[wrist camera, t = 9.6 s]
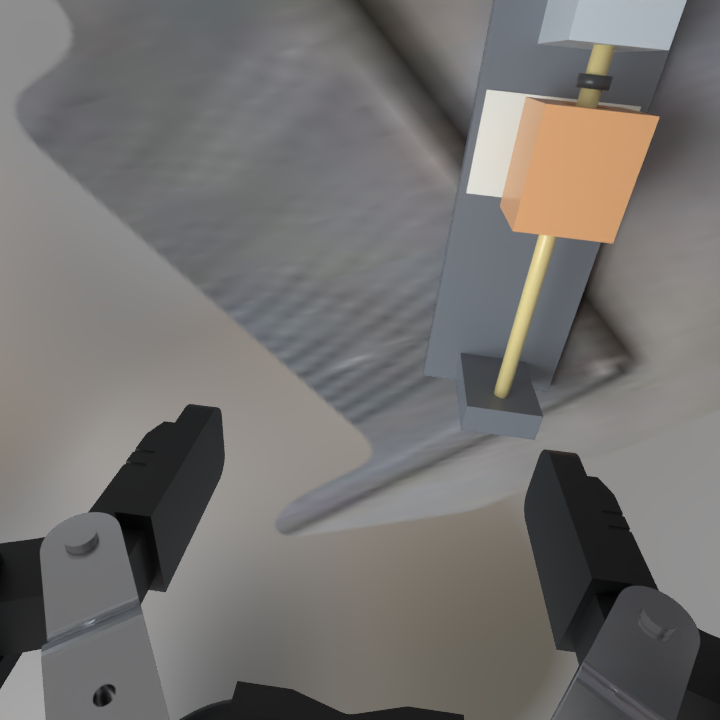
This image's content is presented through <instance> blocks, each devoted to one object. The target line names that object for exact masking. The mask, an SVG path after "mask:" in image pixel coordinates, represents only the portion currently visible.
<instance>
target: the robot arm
mask: <svg viewBox="0 0 720 720" xmlns="http://www.w3.org/2000/svg"><path fill="white" fill-rule="evenodd" d="M224 459H225V452H224V440H223V427H222V414H221V410H220V409H219V408H217V407H209V406H201V405H193V404H189V405H187V406H186V407H185V409H184V411H183V412H182V413H181V415H180V416H179V418H178V419H177V421H176V422H175V423H173V422H163V423H162V424H160V425H159V426H157V427H156V428H154V429H153V430H152V431H150V432H148V433H147V434H146V435H145V437H144V438H143V439H142V441H141V442H140V443H139V445H138V446H137V447H136V450H135V452H133V453H132V454H131V455H130V457H129V458H128V459H127V461H126V464H124V465H123V466H122V468H121V469H120V470H119V472H118V473H117V474H116V476H115V477H114V478H113V480H112V481H111V482H110V484H109V485H108V486H107V488H106V489H105V491H104V492H103V493H102V495H101V496H100V497H99V499H98V500H97V501H96V503H95V504H94V505H93V507H92V508H91V509H90V511H89V512H88V513H83V514H80V515H76V516H74V517H71V518H69V519H67V520H65V521H63V522H62V523H60V524H58V525H57V526H56V527H55V528H53V529H52V530H51V531H50V533H48V535H47V536H46V537H43V538H38V539H31V540H24V541H16V542H8V543H1V544H0V688H1V687H2V685H3V684H4V682H5V680H6V679H7V677H8V676H9V674H10V672H11V670H12V669H13V667H14V666H15V664H16V662H17V661H18V659H19V658H20V656H21V654H22V653H23V652H28V651H33V650H38V649H41V661H42V674H43V687H44V701H45V714H46V720H170V718H169V714H168V710H167V707H166V703H165V699H164V695H163V691H162V687H161V683H160V679H159V675H158V671H157V667H156V663H155V659H154V655H153V652H152V647H151V643H150V640H149V636H148V632H147V628H146V624H145V620H144V616H143V612H142V609H141V603H142V601H143V599H144V597H145V595H146V593H147V591H148V590H154V591H161V592H166V590H167V588H168V586H169V584H170V582H171V579H172V577H173V575H174V573H175V571H176V569H177V567H178V565H179V563H180V561H181V558H182V556H183V555H184V552H185V550H186V548H187V546H188V544H189V542H190V540H191V538H192V536H193V534H194V532H195V530H196V527H197V525H198V523H199V521H200V519H201V517H202V515H203V513H204V511H205V508H206V507H207V505H208V502H209V500H210V498H211V496H212V494H213V492H214V490H215V488H216V486H217V484H218V482H219V480H220V477H221V474H222V471H223V465H224ZM524 513H525V521H526V525H527V529H528V534H529V537H530V542H531V545H532V550H533V554H534V558H535V563H536V567H537V571H538V575H539V579H540V583H541V587H542V591H543V595H544V600H545V604H546V608H547V612H548V616H549V620H550V624H551V629H552V633H553V637H554V641H555V645H556V649H557V650H564V651H571V652H576V656H577V659H578V663H579V667H578V669H577V671H576V672H575V674H574V676H573V678H572V680H571V682H570V684H569V686H568V687H567V689H566V691H565V693H564V695H563V697H562V699H561V701H560V703H559V704H558V706H557V708H556V710H555V712H554V714H553V716H552V718H551V720H720V638H718V637H715V636H713V635H710V634H708V633H706V632H704V631H702V630H700V629H698V628H697V627H696V624H695V622H694V621H693V619H692V618H691V616H690V615H689V614H688V613H687V611H686V610H685V609H684V608H683V607H682V606H681V605H680V604H678V603H677V602H676V601H675V600H673V599H672V598H670V597H669V596H667V595H666V594H664V593H662V592H660V591H659V590H658V588H657V586H656V584H655V582H654V579H653V578H652V575H651V573H650V571H649V569H648V567H647V565H646V562H645V560H644V558H643V556H642V554H641V552H640V549H639V547H638V545H637V543H636V541H635V539H634V536H633V535H632V533H631V532H630V531H629V529H630V528H629V526H628V524H627V522H626V519H625V517H623V516H622V511H621V509H620V506H619V505H618V502H617V500H616V498H615V496H614V494H613V493H612V492H611V491H610V490H609V489H608V488H607V487H606V486H605V485H604V484H603V483H602V482H601V480H600V479H599V478H598V477H590V476H587V475H586V472H585V470H584V467H583V465H582V463H581V460H580V458H579V456H578V455H577V454H576V453H569V452H561V451H553V450H543V451H542V452H541V454H540V456H539V459H538V462H537V464H536V467H535V470H534V473H533V476H532V479H531V482H530V485H529V487H528V490H527V494H526V498H525V505H524ZM180 720H464V715H461V714H454V713H448V712H441V711H434V710H427V709H420V708H414V707H400V708H393V709H387V710H380V711H373V712H366V713H359V714H345V713H342V712H339V711H338V710H335V709H333V708H331V707H329V706H327V705H325V704H322V703H320V702H318V701H316V700H314V699H312V698H310V697H307V696H305V695H303V694H301V693H299V692H297V691H295V690H293V689H287V688H280V687H273V686H266V685H260V684H253V683H246V682H240V681H238V682H237V685H236V688H235V691H234V695H233V698H232V699H230V700H224V701H220V702H216V703H213V704H210V705H207V706H205V707H202V708H200V709H198V710H195V711H193V712H192V713H190V714H188V715H186V716H184V717H183V718H181V719H180Z"/></svg>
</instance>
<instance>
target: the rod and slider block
mask: <svg viewBox="0 0 720 720" xmlns="http://www.w3.org/2000/svg"><path fill="white" fill-rule="evenodd" d="M687 1H688V0H493V6H492V11H491V16H490V21H489V27H488V32H487V37H486V42H485V48H484V53H483V58H482V63H481V69H480V74H479V79H478V84H477V90H476V95H475V100H474V105H473V111H472V116H471V121H470V126H469V132H468V137H467V142H466V147H465V153H464V158H463V163H462V169H461V174H460V179H459V184H458V190H457V195H456V200H455V205H454V211H453V216H452V221H451V226H450V232H449V237H448V242H447V247H446V253H445V258H444V263H443V268H442V274H441V279H440V284H439V289H438V295H437V300H436V305H435V310H434V316H433V321H432V326H431V332H430V337H429V342H428V347H427V353H426V358H425V363H424V368H423V375H426V376H433V377H440V378H448V379H455V380H456V385H457V394H458V404H459V414H460V423H461V430H468V431H475V432H482V433H489V434H496V435H504V436H511V437H518V438H525V439H532V440H535V438H536V435H537V432H538V429H539V427H540V424H541V421H542V418H543V415H542V412H541V409H540V406H539V403H538V400H537V397H536V394H535V391H542V392H548V390H549V387H550V384H551V381H552V379H553V376H554V373H555V370H556V367H557V365H558V362H559V359H560V356H561V353H562V351H563V348H564V345H565V342H566V339H567V337H568V334H569V331H570V328H571V325H572V323H573V320H574V317H575V314H576V311H577V309H578V306H579V303H580V300H581V297H582V295H583V292H584V289H585V286H586V283H587V281H588V278H589V275H590V272H591V269H592V267H593V264H594V261H595V258H596V255H597V253H598V250H599V247H600V244H601V242H596V241H587V240H579V239H571V238H563V237H555V236H547V235H539V234H531V233H523V232H514V231H512V229H511V227H510V225H509V223H508V221H507V219H506V217H505V215H504V214H503V212H502V210H501V208H500V203H501V199H502V195H503V191H504V187H505V182H506V178H507V174H508V170H509V166H510V161H511V157H512V153H513V149H514V144H515V140H516V136H517V132H518V128H519V123H520V119H521V115H522V111H523V107H524V102H525V98H526V97H533V98H542V99H551V100H560V101H569V102H577V104H576V106H584V107H593V108H597V106H598V105H605V106H614V107H622V108H626V109H631V110H635V111H639V112H643V113H648V110H649V107H650V104H651V101H652V99H653V96H654V93H655V90H656V87H657V85H658V82H659V79H660V76H661V73H662V71H663V68H664V65H665V62H666V59H667V57H668V54H669V51H670V48H671V45H672V43H673V40H674V37H675V34H676V31H677V29H678V26H679V23H680V20H681V17H682V15H683V12H684V9H685V6H686V3H687ZM534 390H535V391H534Z"/></svg>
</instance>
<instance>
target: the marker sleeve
mask: <svg viewBox="0 0 720 720" xmlns="http://www.w3.org/2000/svg"><path fill="white" fill-rule="evenodd" d="M576 104H577V102H569V101H560V100H551V99H542V98H533V97H526V98H525V102H524V107H523V111H522V115H521V119H520V123H519V128H518V132H517V136H516V140H515V144H514V149H513V153H512V157H511V161H510V166H509V170H508V174H507V178H506V182H505V187H504V191H503V195H502V199H501V203H500V208H501V210H502V212H503V214H504V215H505V217H506V219H507V221H508V223H509V225H510V227H511V229H512V231H514V232H523V233H531V234H539V235H547V236H555V237H563V238H571V239H579V240H587V241H596V242H604V243H612V244H613V242H614V239H615V237H616V234H617V231H618V229H619V226H620V223H621V220H622V218H623V215H624V212H625V210H626V207H627V204H628V202H629V199H630V196H631V193H632V191H633V188H634V185H635V183H636V180H637V177H638V175H639V172H640V169H641V166H642V164H643V161H644V158H645V156H646V153H647V150H648V148H649V145H650V142H651V139H652V137H653V134H654V131H655V129H656V126H657V123H658V121H659V118H660V116H655V115H651V114H647V113H643V112H639V111H635V110H631V109H626V108H622V107H614V106H605V105H598V106H597V108H593V107H584V106H576Z"/></svg>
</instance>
